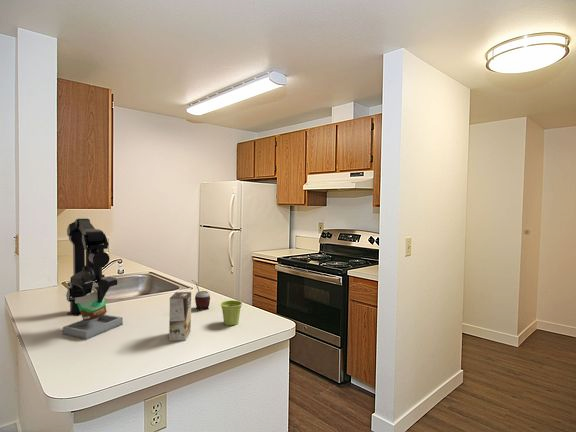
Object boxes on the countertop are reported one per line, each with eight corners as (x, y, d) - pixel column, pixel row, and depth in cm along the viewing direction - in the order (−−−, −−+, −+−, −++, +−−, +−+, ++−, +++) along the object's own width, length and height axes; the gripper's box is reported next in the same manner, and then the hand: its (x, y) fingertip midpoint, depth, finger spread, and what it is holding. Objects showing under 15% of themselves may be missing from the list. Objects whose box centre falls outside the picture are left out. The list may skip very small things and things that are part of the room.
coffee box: (186, 340, 130) (186, 298, 129) (168, 340, 130) (169, 298, 129) (191, 331, 139) (191, 291, 139) (174, 331, 139) (175, 291, 138)
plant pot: (215, 325, 147) (216, 304, 146) (227, 318, 156) (227, 299, 155) (235, 328, 144) (235, 307, 143) (245, 321, 152) (246, 301, 152)
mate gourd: (211, 307, 171) (212, 276, 170) (206, 312, 163) (206, 280, 162) (197, 306, 172) (197, 276, 171) (191, 311, 164) (191, 279, 163)
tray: (62, 334, 133) (62, 327, 133) (100, 320, 149) (100, 313, 149) (86, 339, 129) (86, 331, 129) (122, 324, 145) (122, 317, 145)
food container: (92, 322, 133) (85, 298, 131) (80, 322, 135) (73, 298, 133) (116, 308, 144) (111, 285, 143) (105, 308, 146) (100, 286, 145)
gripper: (57, 264, 133) (57, 304, 134) (94, 268, 127) (94, 311, 128) (83, 259, 143) (83, 296, 144) (118, 263, 137) (118, 302, 138)
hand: (93, 301), depth 138 cm, fingers closed on food container, 6 cm apart
